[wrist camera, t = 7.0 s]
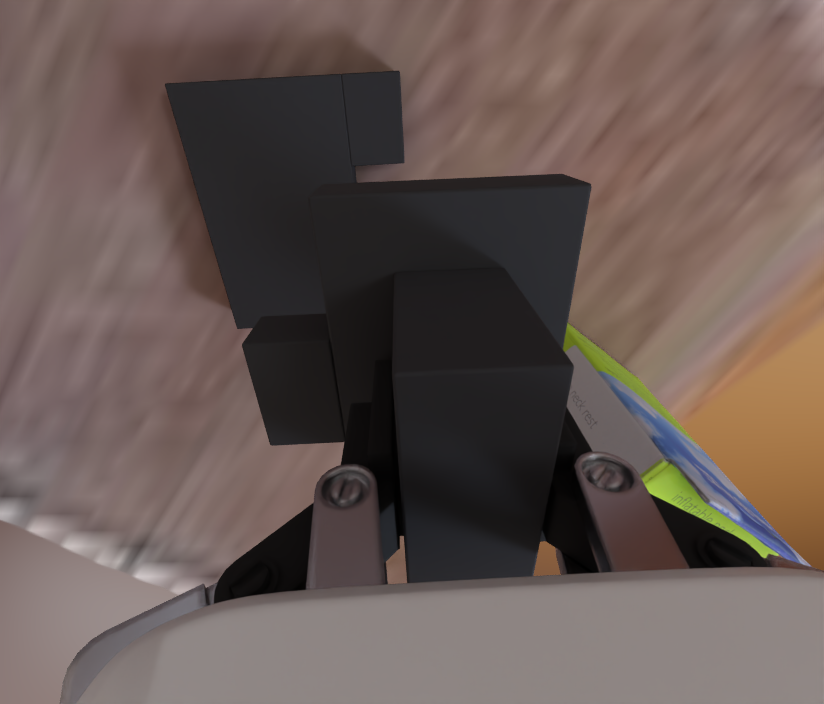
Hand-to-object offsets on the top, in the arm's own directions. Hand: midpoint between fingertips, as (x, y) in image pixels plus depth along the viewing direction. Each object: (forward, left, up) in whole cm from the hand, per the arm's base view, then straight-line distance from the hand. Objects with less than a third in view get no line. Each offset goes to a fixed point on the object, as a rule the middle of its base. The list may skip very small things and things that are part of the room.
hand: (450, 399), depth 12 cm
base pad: (-3, -7, -17) cm, 19 cm away
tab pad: (0, -1, -3) cm, 3 cm away
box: (+10, +12, -17) cm, 23 cm away
